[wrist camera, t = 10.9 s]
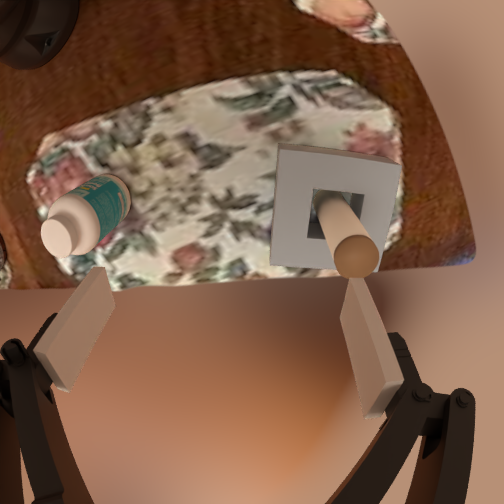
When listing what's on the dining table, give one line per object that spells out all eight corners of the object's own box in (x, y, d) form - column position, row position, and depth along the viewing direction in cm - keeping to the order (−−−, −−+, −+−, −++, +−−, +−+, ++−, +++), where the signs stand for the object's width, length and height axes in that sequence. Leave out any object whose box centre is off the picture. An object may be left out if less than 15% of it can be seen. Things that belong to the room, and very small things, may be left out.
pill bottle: (117, 163, 37) (59, 195, 25) (141, 210, 40) (94, 257, 28) (81, 186, 38) (23, 223, 27) (103, 228, 42) (54, 276, 30)
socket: (278, 143, 35) (279, 149, 30) (386, 157, 34) (401, 165, 30) (269, 246, 41) (269, 265, 37) (367, 253, 41) (377, 272, 37)
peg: (315, 186, 37) (339, 236, 24) (345, 189, 37) (384, 240, 24) (311, 215, 39) (331, 278, 26) (340, 218, 39) (373, 280, 26)
